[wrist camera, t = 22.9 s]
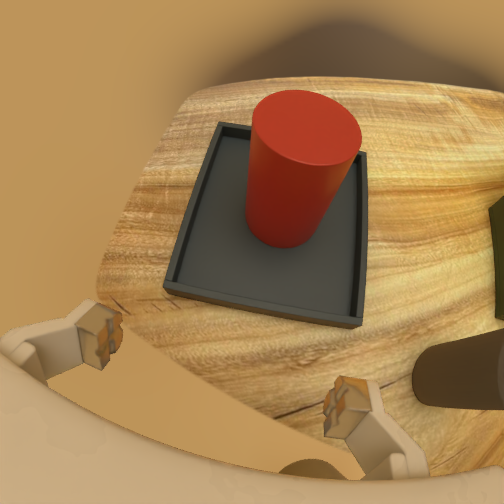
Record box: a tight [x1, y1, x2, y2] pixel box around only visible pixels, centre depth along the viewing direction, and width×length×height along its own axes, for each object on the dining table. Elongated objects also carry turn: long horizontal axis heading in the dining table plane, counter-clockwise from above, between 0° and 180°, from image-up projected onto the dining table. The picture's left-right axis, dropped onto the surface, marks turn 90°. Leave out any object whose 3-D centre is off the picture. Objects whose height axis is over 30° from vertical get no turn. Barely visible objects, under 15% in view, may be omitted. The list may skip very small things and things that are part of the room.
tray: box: [163, 122, 368, 329], centre depth 25 cm, size 17×15×2 cm
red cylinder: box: [245, 90, 362, 248], centre depth 20 cm, size 6×6×11 cm
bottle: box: [412, 328, 504, 410], centre depth 14 cm, size 6×6×15 cm
